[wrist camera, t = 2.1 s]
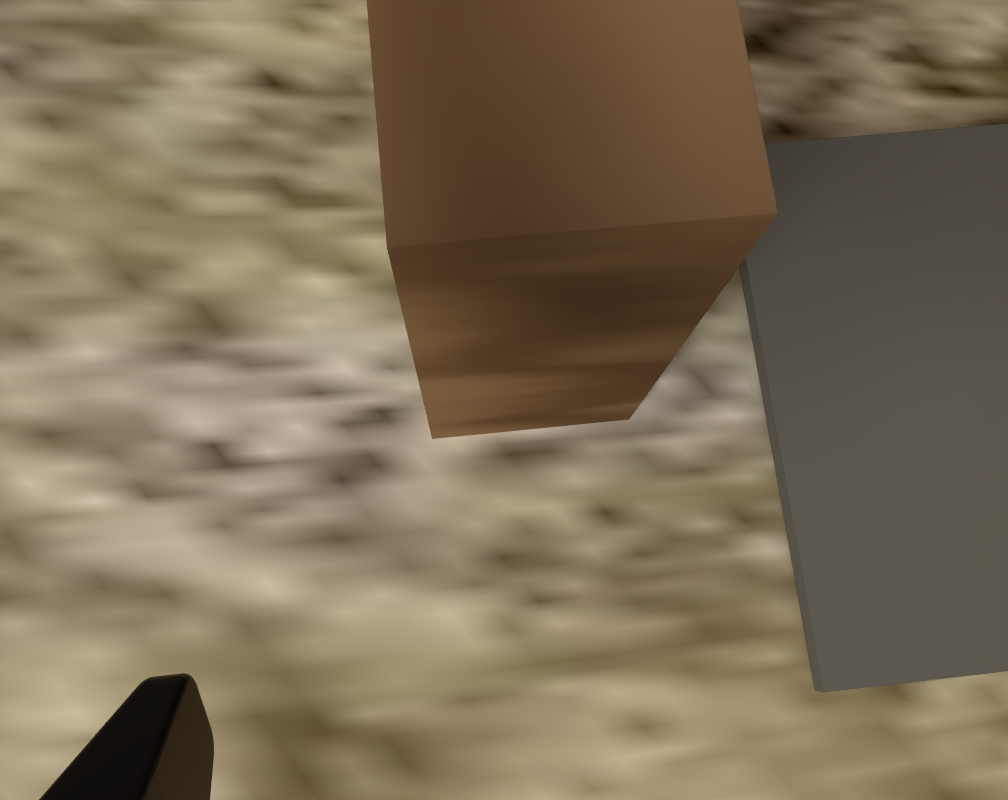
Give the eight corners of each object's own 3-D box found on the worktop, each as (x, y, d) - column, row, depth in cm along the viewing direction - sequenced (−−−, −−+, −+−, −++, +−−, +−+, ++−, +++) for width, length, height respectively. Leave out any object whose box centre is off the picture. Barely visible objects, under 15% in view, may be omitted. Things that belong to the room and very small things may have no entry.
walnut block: (602, 237, 25) (714, -113, 13) (628, 419, 23) (778, 213, 12) (415, 253, 24) (359, -89, 13) (432, 438, 23) (387, 247, 12)
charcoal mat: (1140, 122, 26) (1155, 111, 25) (1293, 635, 23) (1315, 635, 22) (719, 158, 25) (725, 147, 25) (814, 690, 22) (823, 692, 21)
